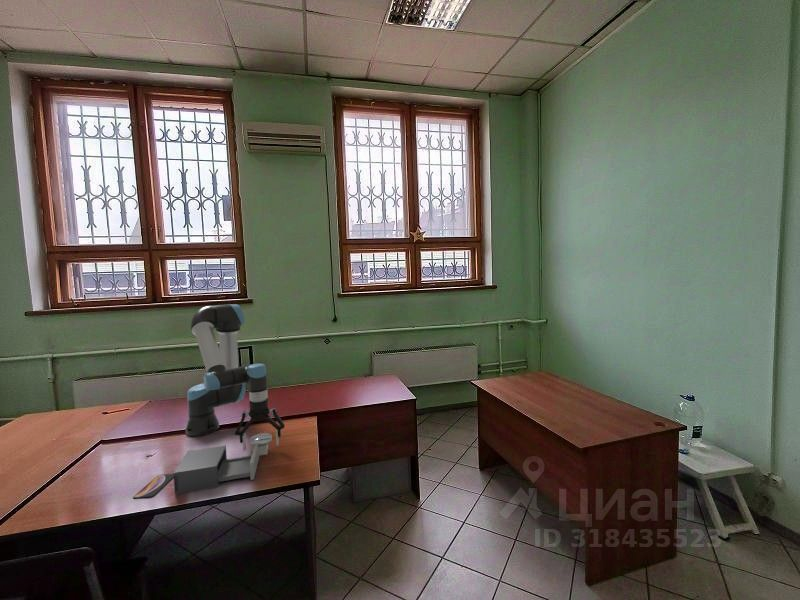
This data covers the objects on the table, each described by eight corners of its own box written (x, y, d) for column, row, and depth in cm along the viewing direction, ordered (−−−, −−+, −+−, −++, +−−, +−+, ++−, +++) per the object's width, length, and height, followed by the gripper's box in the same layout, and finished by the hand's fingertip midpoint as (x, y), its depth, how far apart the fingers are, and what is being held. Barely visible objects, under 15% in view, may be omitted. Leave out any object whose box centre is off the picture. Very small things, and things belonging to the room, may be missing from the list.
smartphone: (131, 498, 124) (157, 474, 139) (131, 500, 124) (157, 476, 139) (153, 496, 124) (177, 473, 139) (153, 498, 124) (177, 475, 139)
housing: (189, 469, 142) (188, 450, 142) (227, 463, 146) (225, 445, 146) (175, 494, 126) (173, 472, 125) (217, 486, 130) (216, 466, 129)
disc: (251, 438, 158) (251, 434, 158) (272, 435, 160) (272, 431, 160) (248, 447, 149) (248, 443, 149) (271, 444, 151) (270, 440, 151)
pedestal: (256, 450, 157) (255, 440, 156) (268, 449, 158) (267, 438, 158) (254, 456, 152) (254, 445, 152) (267, 454, 153) (266, 443, 153)
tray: (223, 463, 146) (222, 448, 145) (258, 458, 149) (258, 443, 149) (214, 486, 130) (212, 469, 129) (254, 479, 133) (253, 462, 133)
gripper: (225, 406, 146) (228, 455, 148) (288, 398, 153) (290, 445, 154) (229, 400, 154) (232, 447, 155) (288, 393, 160) (291, 438, 162)
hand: (261, 446), depth 155 cm, fingers open, 13 cm apart
